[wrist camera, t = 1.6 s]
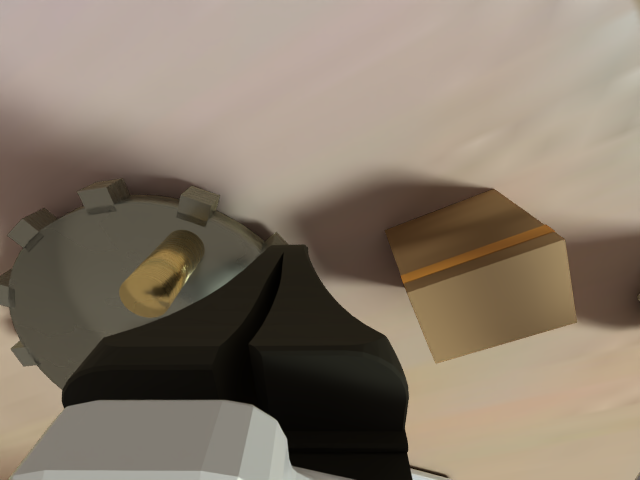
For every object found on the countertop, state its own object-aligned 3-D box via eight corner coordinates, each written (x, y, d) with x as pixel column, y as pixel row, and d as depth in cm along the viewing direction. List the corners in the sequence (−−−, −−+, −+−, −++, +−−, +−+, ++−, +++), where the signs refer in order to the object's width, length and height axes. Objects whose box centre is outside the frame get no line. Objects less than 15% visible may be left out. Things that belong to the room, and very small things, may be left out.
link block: (407, 288, 17) (435, 364, 13) (383, 229, 16) (406, 292, 11) (508, 253, 16) (577, 322, 12) (494, 187, 15) (565, 238, 10)
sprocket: (15, 383, 20) (-69, 468, 15) (9, 120, 13) (-140, 144, 9) (271, 447, 22) (258, 538, 18) (374, 250, 15) (391, 318, 11)
